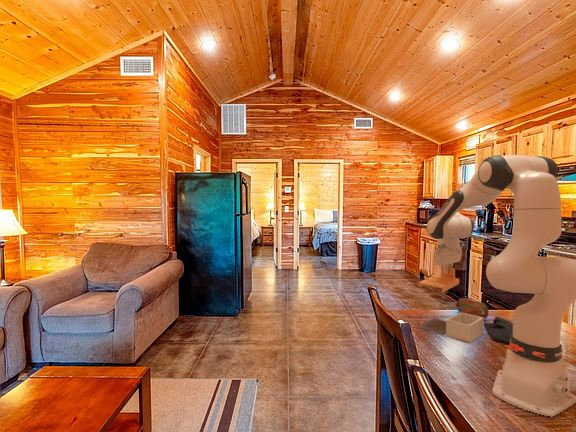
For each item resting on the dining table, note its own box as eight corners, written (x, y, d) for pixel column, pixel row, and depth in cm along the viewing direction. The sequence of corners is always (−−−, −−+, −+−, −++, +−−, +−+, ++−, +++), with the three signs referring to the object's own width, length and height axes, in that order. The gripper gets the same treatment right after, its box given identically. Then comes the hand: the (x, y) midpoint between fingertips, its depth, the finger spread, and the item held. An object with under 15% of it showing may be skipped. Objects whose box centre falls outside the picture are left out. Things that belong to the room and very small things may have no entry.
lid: (443, 292, 131) (442, 277, 131) (419, 287, 140) (418, 272, 139) (460, 283, 142) (460, 268, 141) (437, 278, 150) (436, 265, 149)
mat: (443, 335, 131) (443, 334, 131) (416, 327, 140) (416, 326, 140) (459, 326, 141) (459, 325, 141) (434, 318, 150) (434, 318, 150)
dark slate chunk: (485, 341, 126) (485, 330, 125) (483, 324, 145) (483, 313, 144) (533, 350, 118) (533, 338, 118) (524, 330, 137) (525, 320, 137)
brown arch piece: (455, 312, 159) (456, 296, 159) (460, 311, 160) (460, 295, 160) (485, 322, 145) (485, 304, 145) (489, 321, 147) (489, 303, 146)
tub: (469, 343, 123) (469, 325, 123) (446, 336, 130) (446, 319, 130) (483, 334, 132) (483, 317, 132) (460, 327, 139) (460, 312, 139)
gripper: (444, 245, 136) (444, 277, 136) (464, 242, 149) (464, 271, 149) (430, 244, 141) (429, 275, 141) (450, 241, 153) (450, 269, 154)
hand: (447, 273), depth 145 cm, fingers closed on lid
